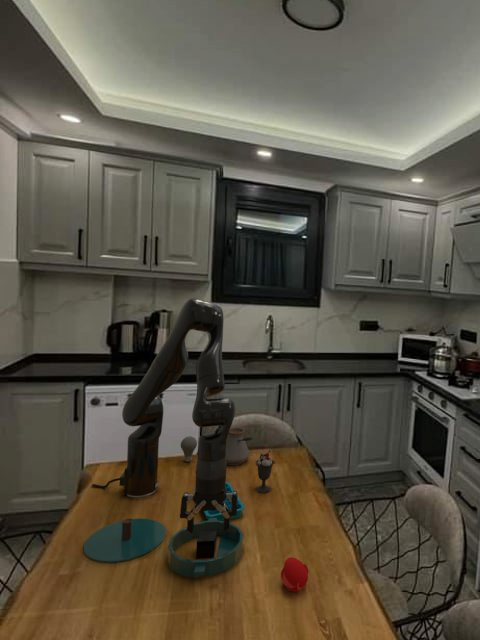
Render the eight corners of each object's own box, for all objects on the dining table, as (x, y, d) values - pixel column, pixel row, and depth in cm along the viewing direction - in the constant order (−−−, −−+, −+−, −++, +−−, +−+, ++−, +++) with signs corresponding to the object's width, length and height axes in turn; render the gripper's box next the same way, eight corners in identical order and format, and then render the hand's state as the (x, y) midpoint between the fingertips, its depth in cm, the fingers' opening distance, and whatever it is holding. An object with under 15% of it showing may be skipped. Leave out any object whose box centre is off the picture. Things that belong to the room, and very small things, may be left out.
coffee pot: (215, 458, 176) (217, 423, 175) (242, 453, 183) (244, 419, 182) (234, 479, 160) (237, 440, 158) (264, 473, 167) (266, 435, 166)
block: (195, 559, 113) (196, 541, 113) (198, 549, 118) (199, 531, 117) (213, 558, 114) (214, 540, 114) (216, 548, 119) (217, 530, 118)
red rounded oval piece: (313, 587, 107) (315, 564, 107) (294, 599, 103) (296, 575, 102) (294, 571, 113) (295, 549, 112) (275, 581, 108) (276, 559, 108)
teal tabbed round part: (156, 589, 102) (157, 571, 102) (178, 531, 126) (179, 516, 125) (238, 583, 107) (239, 566, 106) (245, 528, 130) (245, 514, 130)
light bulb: (199, 460, 174) (200, 436, 173) (188, 465, 168) (189, 440, 167) (187, 457, 175) (188, 433, 175) (176, 462, 170) (177, 437, 169)
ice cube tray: (228, 489, 152) (228, 481, 152) (245, 517, 135) (246, 508, 135) (193, 496, 145) (193, 487, 145) (206, 527, 129) (207, 517, 129)
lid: (69, 567, 107) (70, 544, 107) (100, 523, 126) (101, 503, 126) (155, 562, 112) (156, 540, 111) (172, 520, 131) (173, 501, 130)
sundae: (270, 494, 151) (273, 453, 150) (251, 492, 151) (253, 451, 150) (275, 485, 158) (277, 446, 156) (256, 484, 158) (259, 444, 156)
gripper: (240, 465, 120) (237, 521, 121) (185, 467, 116) (182, 524, 118) (237, 478, 112) (234, 537, 114) (179, 479, 109) (176, 540, 110)
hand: (208, 530), depth 116 cm, fingers open, 8 cm apart
